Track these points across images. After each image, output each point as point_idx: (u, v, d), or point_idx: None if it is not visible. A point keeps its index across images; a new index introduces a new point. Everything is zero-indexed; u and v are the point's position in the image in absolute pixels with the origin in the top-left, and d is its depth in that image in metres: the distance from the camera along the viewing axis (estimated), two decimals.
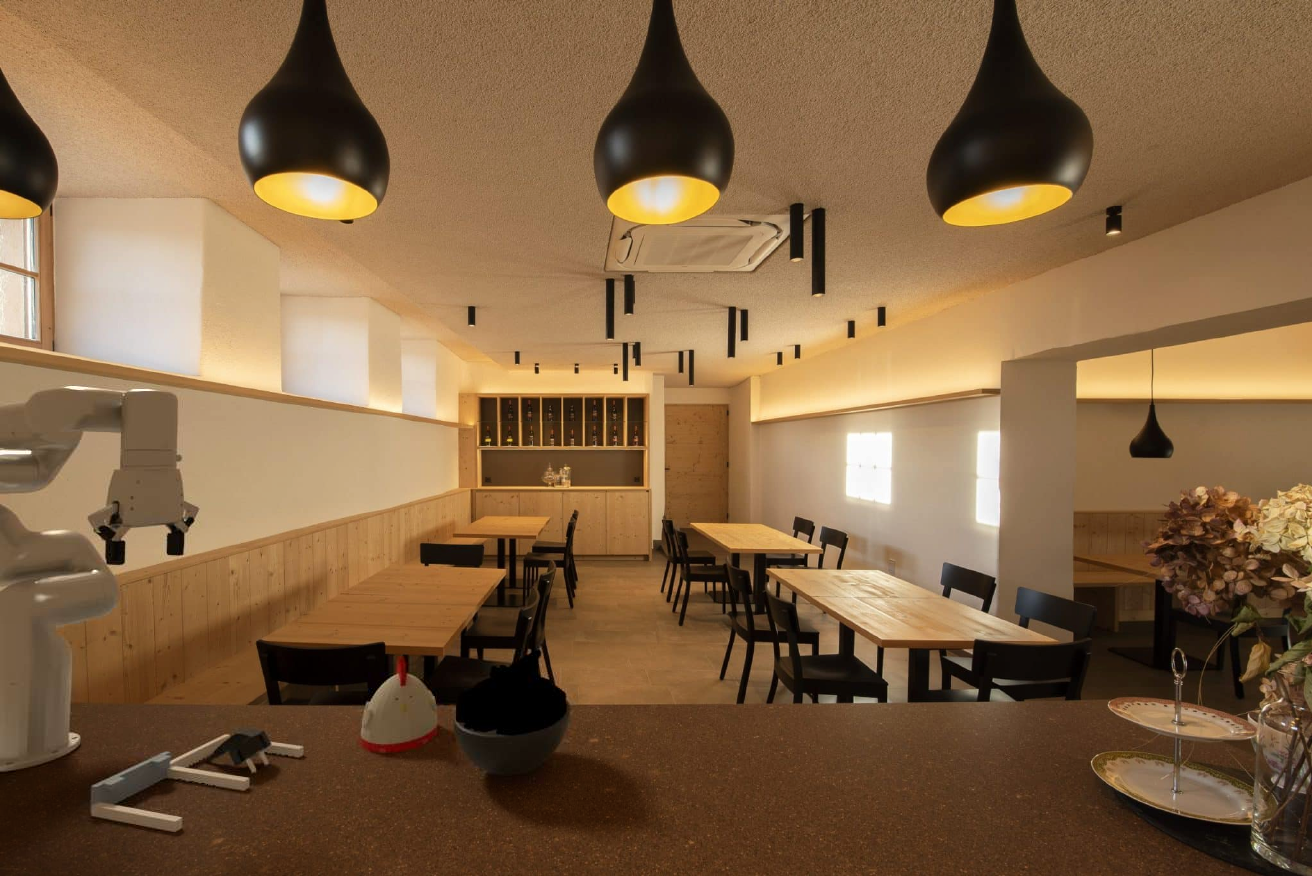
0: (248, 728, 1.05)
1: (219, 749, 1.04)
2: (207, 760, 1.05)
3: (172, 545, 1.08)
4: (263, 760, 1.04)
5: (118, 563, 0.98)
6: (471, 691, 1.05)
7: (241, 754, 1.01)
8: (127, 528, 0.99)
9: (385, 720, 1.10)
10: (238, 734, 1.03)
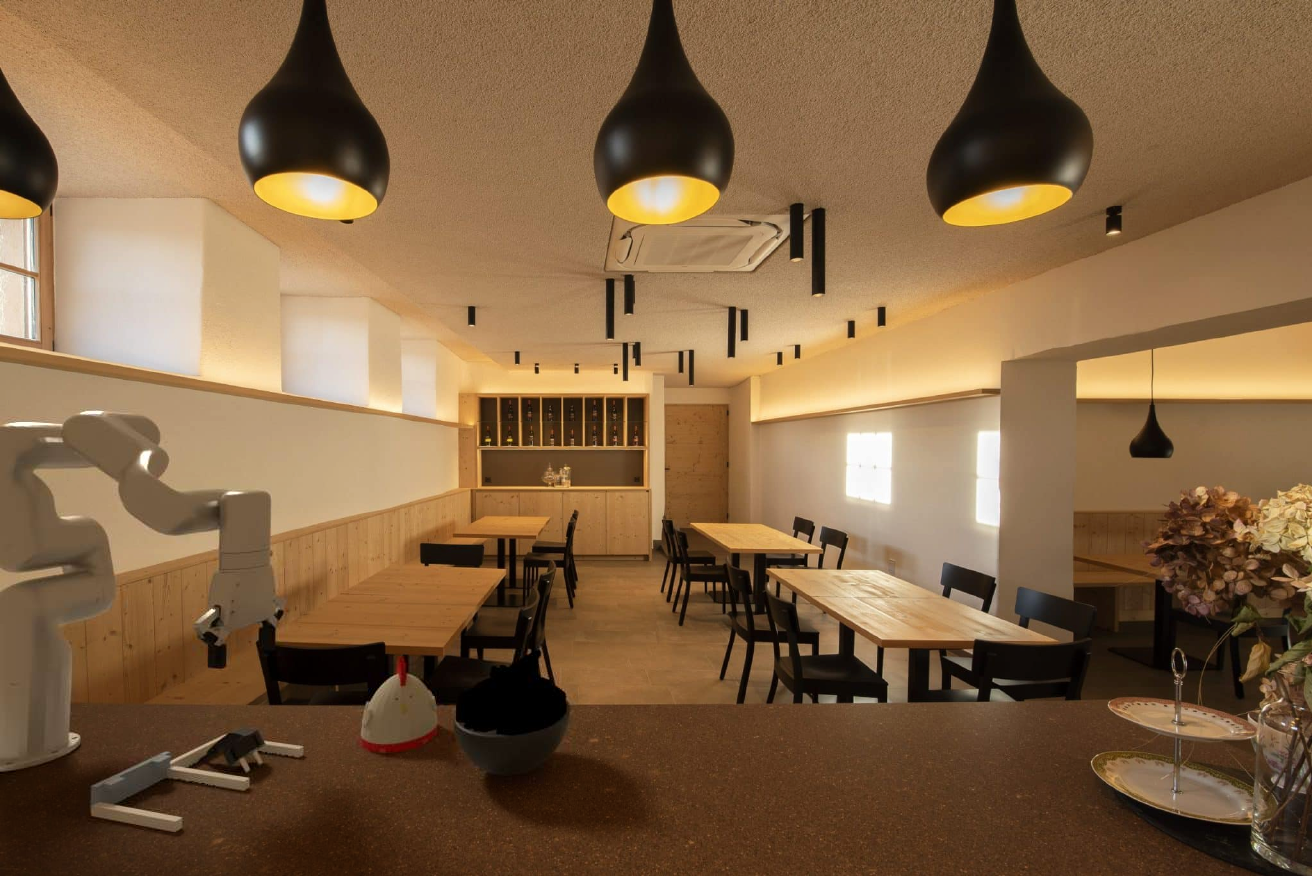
0: (242, 727, 1.05)
1: (213, 748, 1.04)
2: (201, 759, 1.06)
3: (264, 640, 1.09)
4: (257, 759, 1.05)
5: (220, 667, 1.00)
6: (471, 691, 1.05)
7: (235, 753, 1.02)
8: (228, 631, 1.01)
9: (385, 720, 1.10)
10: (232, 733, 1.03)
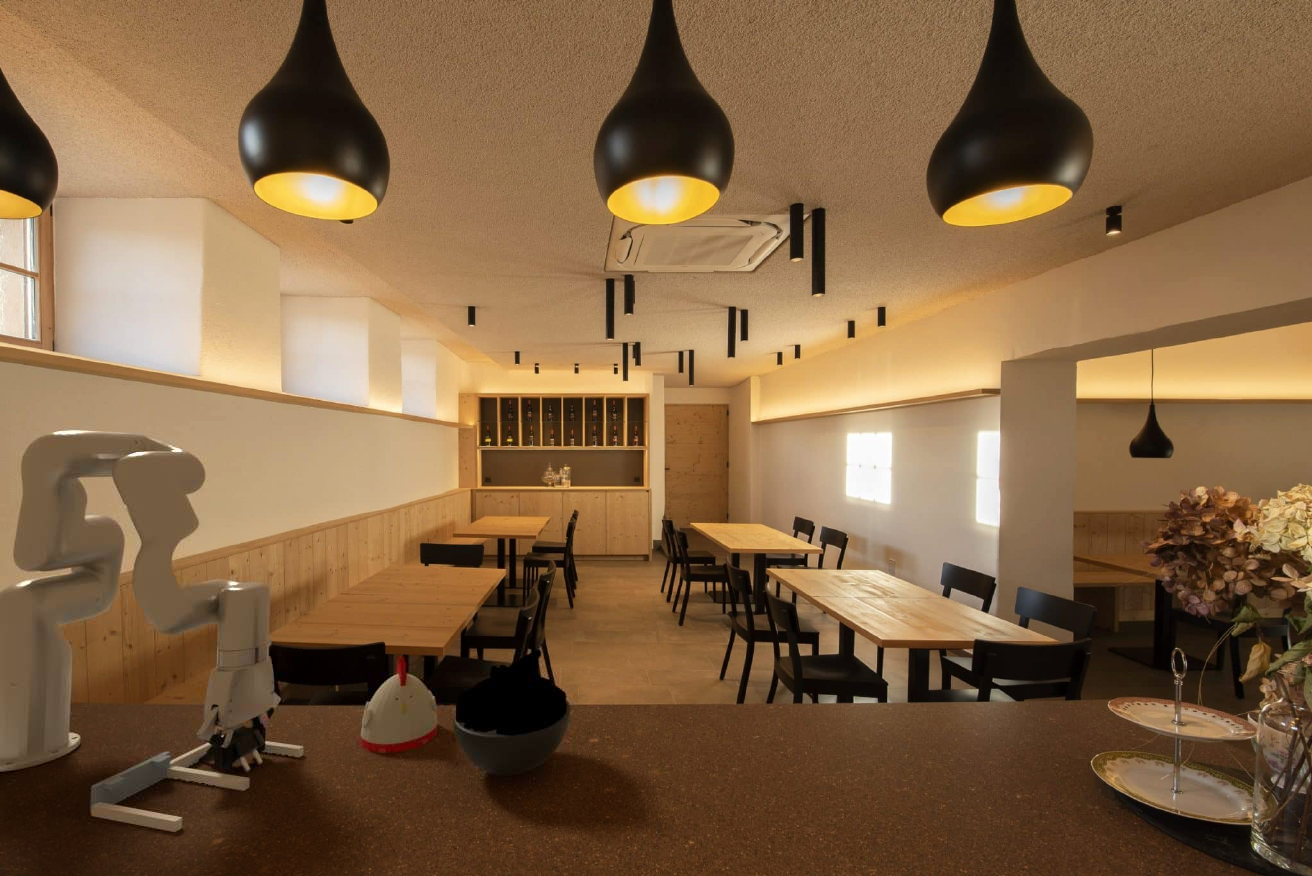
0: (242, 727, 1.05)
1: (213, 748, 1.04)
2: (201, 759, 1.05)
3: None
4: (257, 759, 1.05)
5: (226, 768, 1.01)
6: (471, 691, 1.05)
7: (235, 753, 1.02)
8: (231, 731, 1.01)
9: (385, 720, 1.10)
10: None
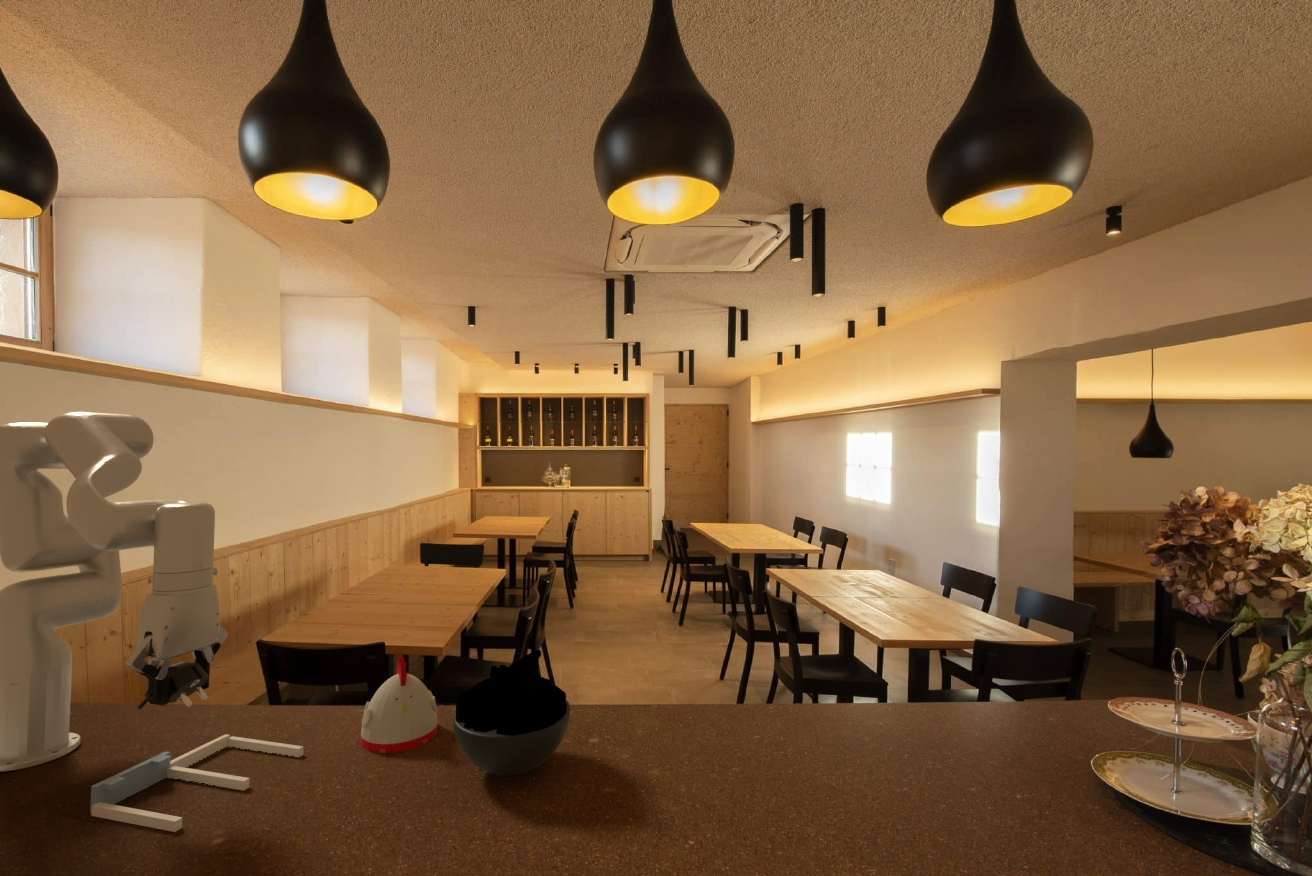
0: (180, 662, 0.95)
1: None
2: (140, 706, 0.95)
3: None
4: (201, 694, 0.94)
5: (162, 703, 0.90)
6: (471, 691, 1.05)
7: (172, 686, 0.91)
8: (168, 662, 0.91)
9: (385, 720, 1.10)
10: (168, 668, 0.93)
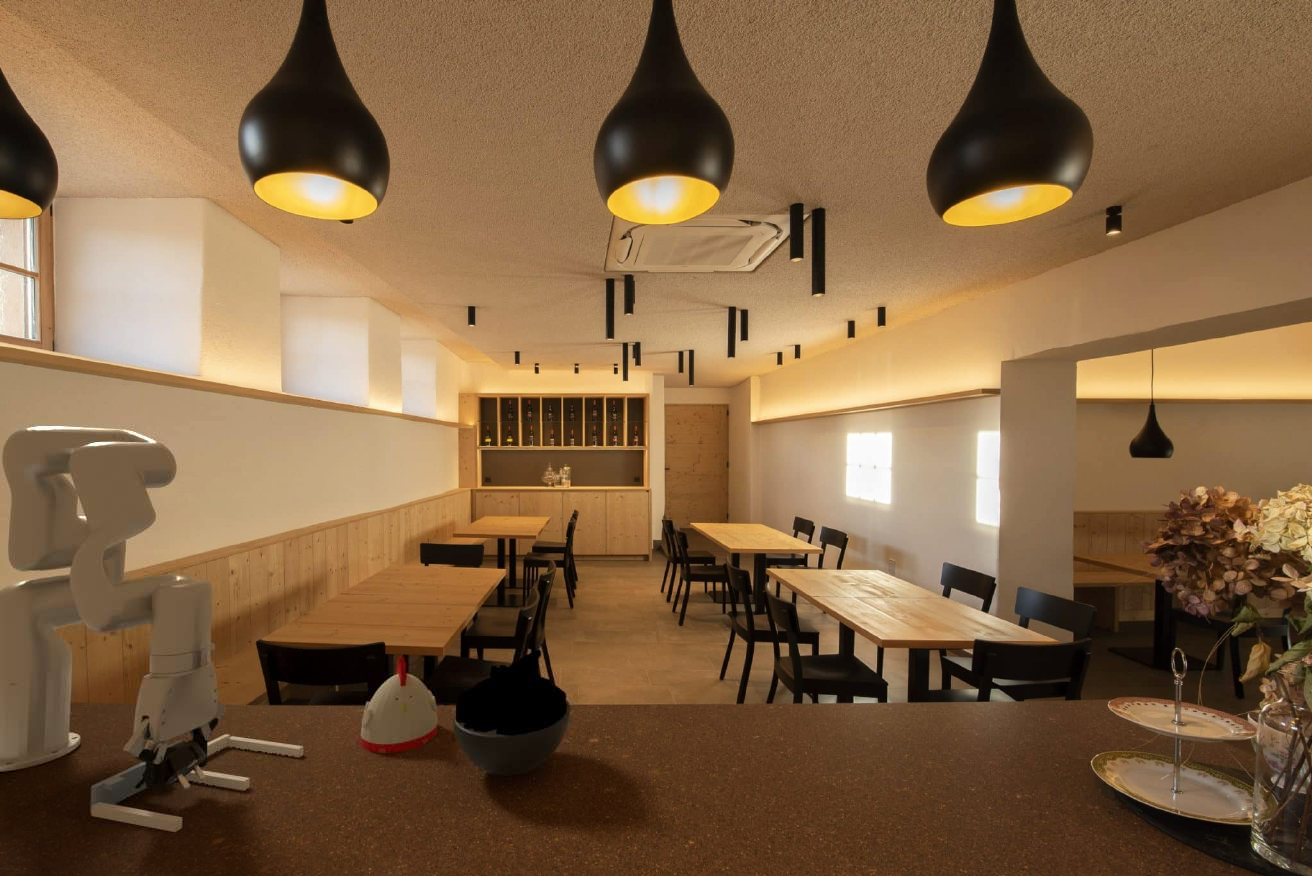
0: (178, 742, 0.95)
1: None
2: (137, 785, 0.95)
3: None
4: (198, 774, 0.94)
5: (159, 787, 0.90)
6: (471, 691, 1.05)
7: (170, 769, 0.91)
8: (165, 745, 0.91)
9: (385, 720, 1.10)
10: (166, 749, 0.93)
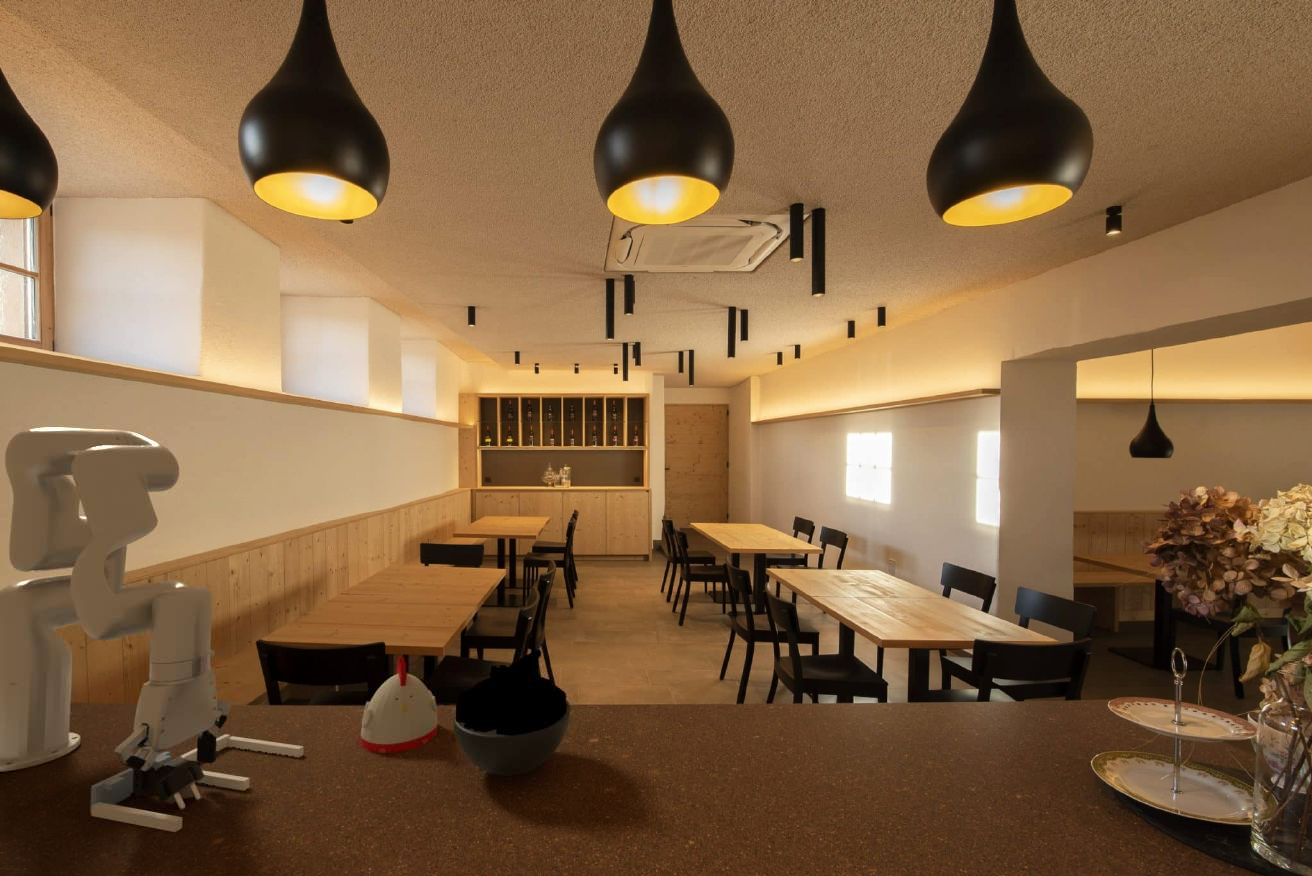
0: (178, 758, 0.94)
1: None
2: (133, 794, 0.95)
3: (203, 751, 0.98)
4: (194, 794, 0.94)
5: (147, 794, 0.88)
6: (471, 691, 1.05)
7: (168, 789, 0.91)
8: (157, 752, 0.90)
9: (385, 720, 1.10)
10: (165, 766, 0.93)
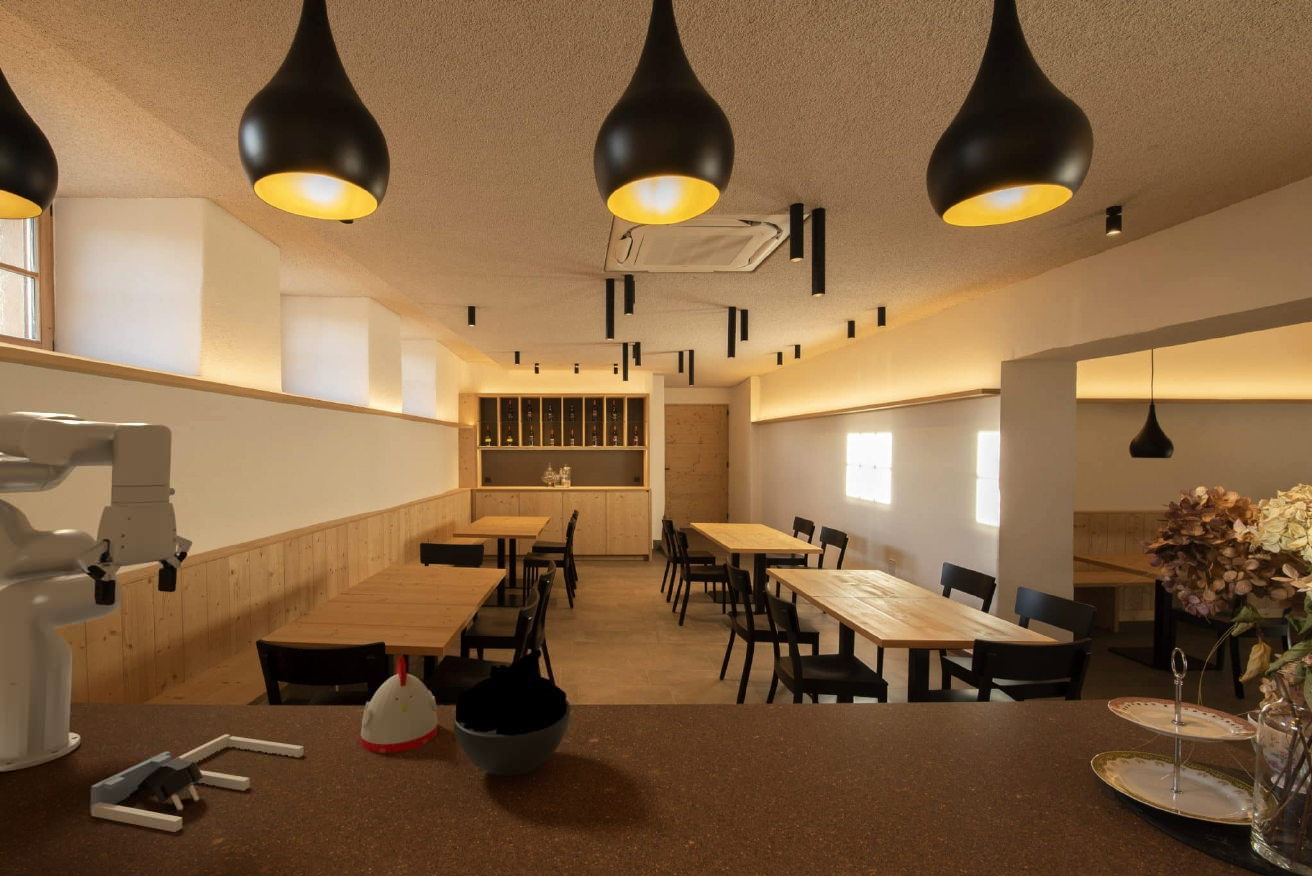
0: (176, 759, 0.94)
1: (144, 783, 0.93)
2: (132, 794, 0.95)
3: (164, 581, 1.05)
4: (193, 795, 0.94)
5: (108, 603, 0.95)
6: (471, 691, 1.05)
7: (165, 790, 0.91)
8: (117, 567, 0.96)
9: (385, 720, 1.10)
10: (164, 767, 0.92)
